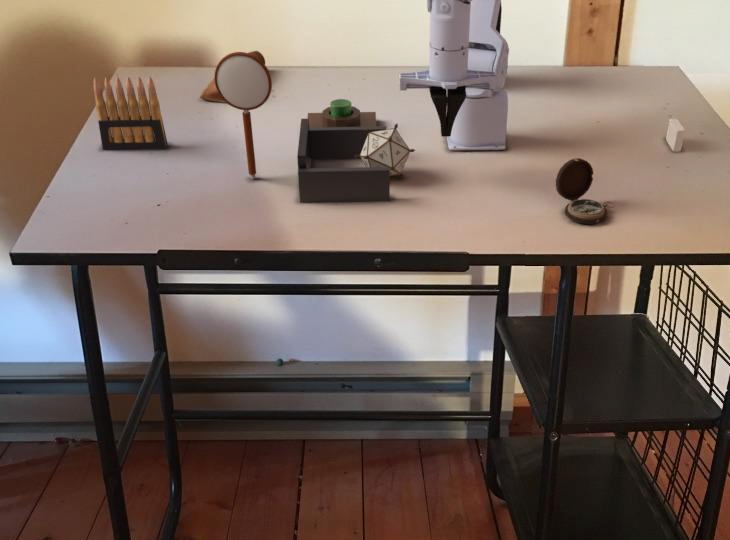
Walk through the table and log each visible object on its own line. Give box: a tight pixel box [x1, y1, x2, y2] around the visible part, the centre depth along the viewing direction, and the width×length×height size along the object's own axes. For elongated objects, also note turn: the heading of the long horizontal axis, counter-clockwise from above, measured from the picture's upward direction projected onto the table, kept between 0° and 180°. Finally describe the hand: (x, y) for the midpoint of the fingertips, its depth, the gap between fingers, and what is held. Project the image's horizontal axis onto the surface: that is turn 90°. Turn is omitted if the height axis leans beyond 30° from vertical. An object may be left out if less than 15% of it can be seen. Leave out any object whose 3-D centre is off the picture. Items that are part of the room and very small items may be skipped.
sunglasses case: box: [199, 50, 266, 104], centre depth 179 cm, size 18×7×7 cm
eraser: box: [665, 118, 686, 153], centre depth 156 cm, size 1×5×4 cm, turn 1°
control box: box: [306, 105, 377, 128], centre depth 162 cm, size 12×9×4 cm
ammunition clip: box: [93, 76, 168, 151], centre depth 154 cm, size 11×2×12 cm, turn 91°
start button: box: [329, 98, 352, 117], centre depth 160 cm, size 4×4×2 cm
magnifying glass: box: [213, 51, 273, 180], centre depth 142 cm, size 9×2×20 cm, turn 83°
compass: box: [555, 157, 616, 225], centre depth 137 cm, size 8×8×7 cm
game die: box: [354, 123, 416, 179], centre depth 146 cm, size 9×8×10 cm
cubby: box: [297, 118, 391, 203], centre depth 147 cm, size 14×16×7 cm
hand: (445, 133), depth 145 cm, fingers closed
